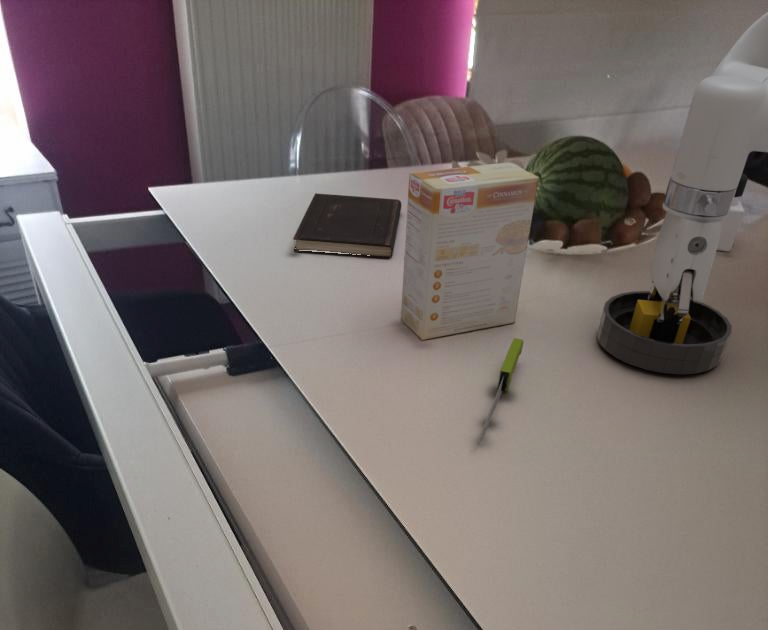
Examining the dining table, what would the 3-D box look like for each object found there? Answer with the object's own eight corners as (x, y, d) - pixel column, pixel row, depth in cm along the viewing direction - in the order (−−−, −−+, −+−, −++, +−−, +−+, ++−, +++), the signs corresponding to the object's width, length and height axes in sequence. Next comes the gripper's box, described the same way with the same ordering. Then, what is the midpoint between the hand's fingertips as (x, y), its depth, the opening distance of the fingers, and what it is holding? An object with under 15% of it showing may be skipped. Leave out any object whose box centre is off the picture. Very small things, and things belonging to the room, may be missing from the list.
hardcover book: (293, 251, 119) (293, 237, 118) (315, 206, 137) (315, 193, 136) (392, 259, 119) (392, 245, 117) (401, 212, 137) (401, 199, 135)
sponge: (672, 337, 101) (683, 303, 97) (679, 353, 97) (691, 317, 94) (627, 334, 101) (637, 299, 98) (633, 349, 97) (643, 314, 94)
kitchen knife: (480, 464, 79) (483, 443, 77) (469, 462, 79) (472, 440, 77) (521, 357, 94) (524, 336, 92) (511, 355, 95) (514, 334, 92)
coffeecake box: (489, 303, 108) (510, 160, 95) (516, 324, 103) (542, 176, 90) (398, 319, 103) (407, 170, 90) (421, 341, 98) (435, 187, 85)
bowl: (703, 326, 105) (714, 296, 102) (734, 383, 93) (747, 351, 90) (589, 316, 106) (596, 286, 103) (604, 372, 94) (613, 340, 91)
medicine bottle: (725, 238, 134) (749, 168, 126) (730, 252, 128) (756, 179, 121) (684, 233, 135) (706, 163, 127) (688, 247, 129) (710, 175, 122)
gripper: (751, 225, 80) (697, 373, 92) (712, 179, 93) (669, 314, 105) (681, 220, 81) (637, 368, 92) (652, 175, 94) (616, 310, 105)
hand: (655, 338), depth 99 cm, fingers closed on sponge, 4 cm apart
